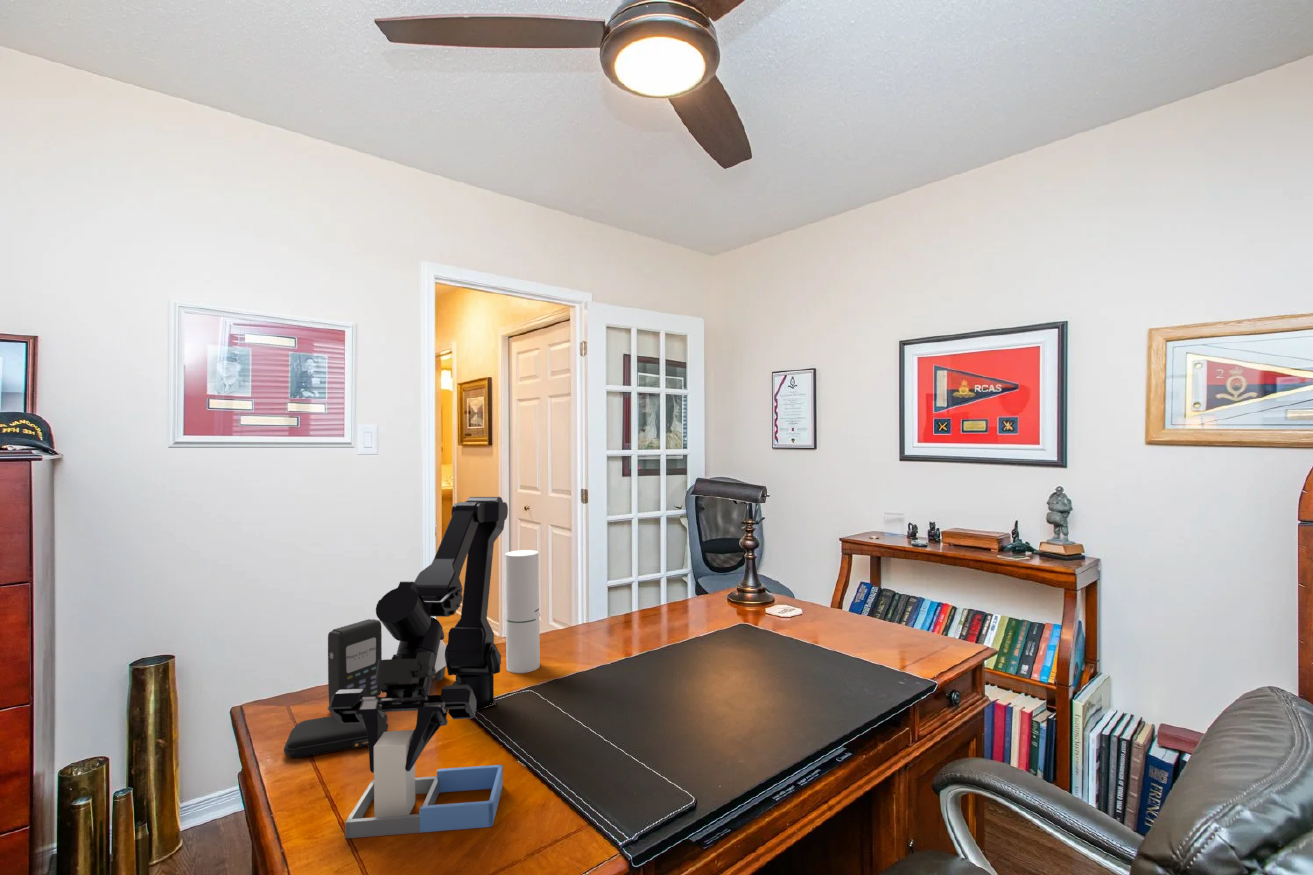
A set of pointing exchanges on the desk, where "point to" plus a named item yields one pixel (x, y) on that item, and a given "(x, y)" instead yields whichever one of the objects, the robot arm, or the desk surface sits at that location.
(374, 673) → the card reader
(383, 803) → the white rectangular block
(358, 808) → the organizer
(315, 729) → the carrying case or bag
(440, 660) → the giant panda
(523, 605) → the cylindrical container
